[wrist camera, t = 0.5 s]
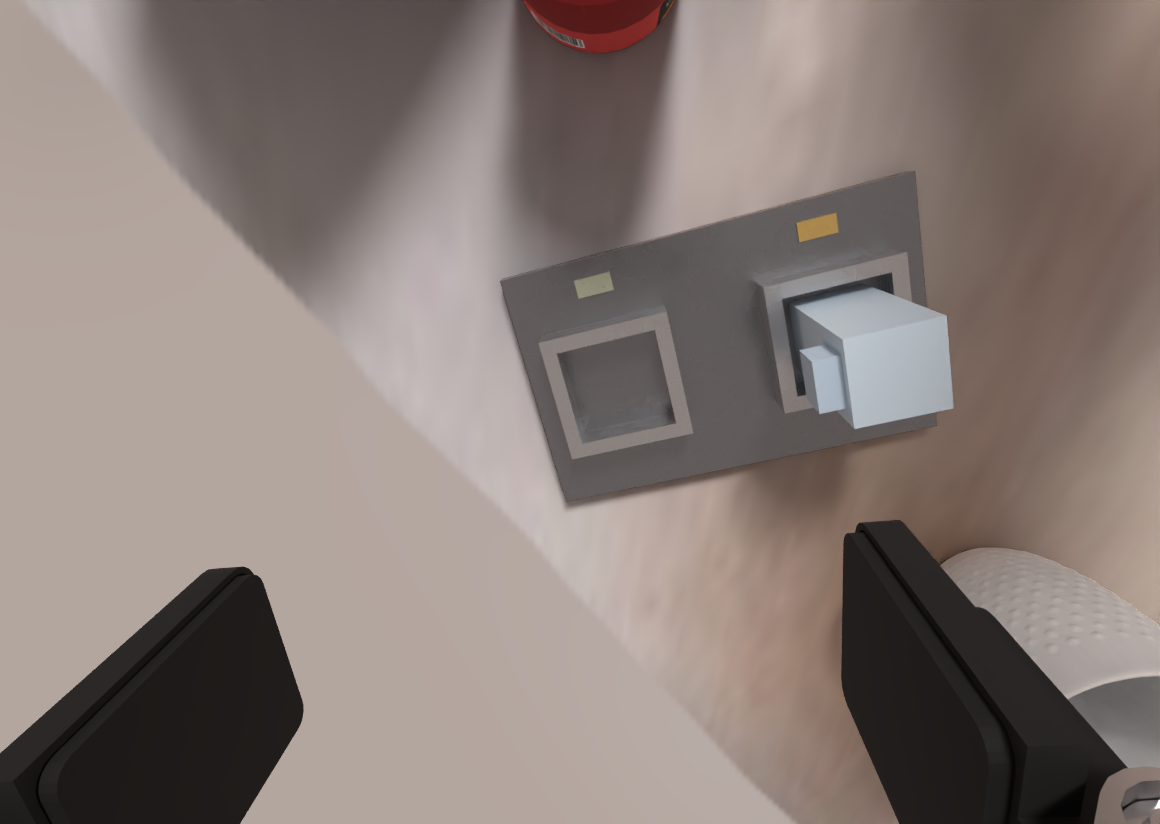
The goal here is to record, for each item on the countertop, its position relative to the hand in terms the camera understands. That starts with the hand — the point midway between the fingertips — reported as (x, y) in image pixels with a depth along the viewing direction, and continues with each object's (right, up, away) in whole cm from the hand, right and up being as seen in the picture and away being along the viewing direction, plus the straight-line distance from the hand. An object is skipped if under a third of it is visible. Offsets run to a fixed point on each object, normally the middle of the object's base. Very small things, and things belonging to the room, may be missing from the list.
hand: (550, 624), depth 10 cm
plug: (+14, +8, +24) cm, 29 cm away
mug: (+25, -8, +30) cm, 40 cm away
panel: (+8, +7, +26) cm, 28 cm away
